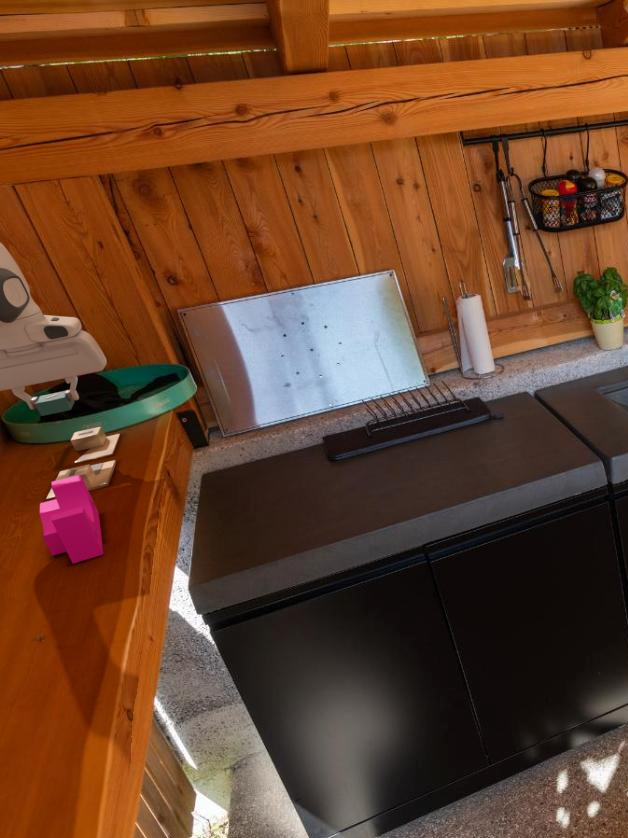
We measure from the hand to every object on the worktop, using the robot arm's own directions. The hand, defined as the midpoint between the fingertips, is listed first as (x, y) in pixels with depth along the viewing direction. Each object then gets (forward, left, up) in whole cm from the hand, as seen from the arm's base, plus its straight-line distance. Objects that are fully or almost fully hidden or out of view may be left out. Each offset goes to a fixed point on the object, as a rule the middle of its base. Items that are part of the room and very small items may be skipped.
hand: (55, 403), depth 142 cm
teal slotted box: (0, 0, -1) cm, 1 cm away
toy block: (+5, -38, -12) cm, 40 cm away
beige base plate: (+2, -12, -12) cm, 17 cm away
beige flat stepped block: (+1, +3, -12) cm, 12 cm away
